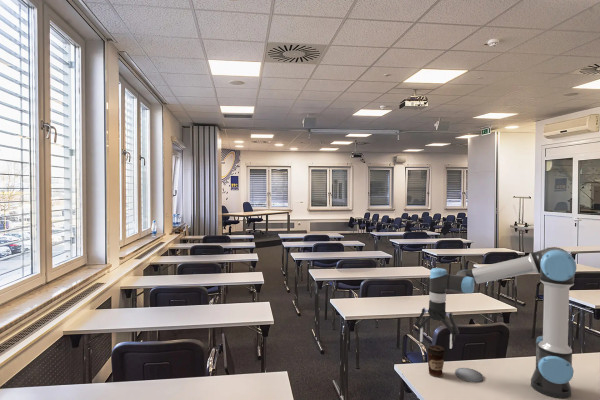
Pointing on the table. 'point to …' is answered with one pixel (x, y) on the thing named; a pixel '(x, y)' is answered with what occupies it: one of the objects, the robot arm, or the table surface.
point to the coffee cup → (436, 360)
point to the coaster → (469, 374)
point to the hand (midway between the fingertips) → (435, 344)
